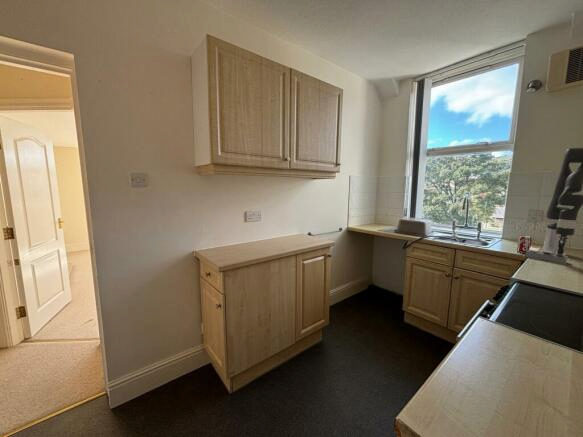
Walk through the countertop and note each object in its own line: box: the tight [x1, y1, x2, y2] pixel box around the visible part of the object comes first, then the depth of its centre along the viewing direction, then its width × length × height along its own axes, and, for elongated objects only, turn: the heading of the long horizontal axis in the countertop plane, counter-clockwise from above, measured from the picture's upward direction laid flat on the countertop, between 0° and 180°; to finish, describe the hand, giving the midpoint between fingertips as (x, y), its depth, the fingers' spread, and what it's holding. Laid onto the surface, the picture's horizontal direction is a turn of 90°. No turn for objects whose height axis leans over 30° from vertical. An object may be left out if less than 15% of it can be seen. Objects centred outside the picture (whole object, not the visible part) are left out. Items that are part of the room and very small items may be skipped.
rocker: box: [529, 245, 540, 252], centre depth 162 cm, size 6×4×1 cm, turn 126°
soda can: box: [516, 235, 533, 254], centre depth 173 cm, size 7×7×12 cm
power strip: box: [525, 250, 569, 266], centre depth 158 cm, size 8×18×5 cm, turn 37°
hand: (560, 254), depth 151 cm, fingers closed
